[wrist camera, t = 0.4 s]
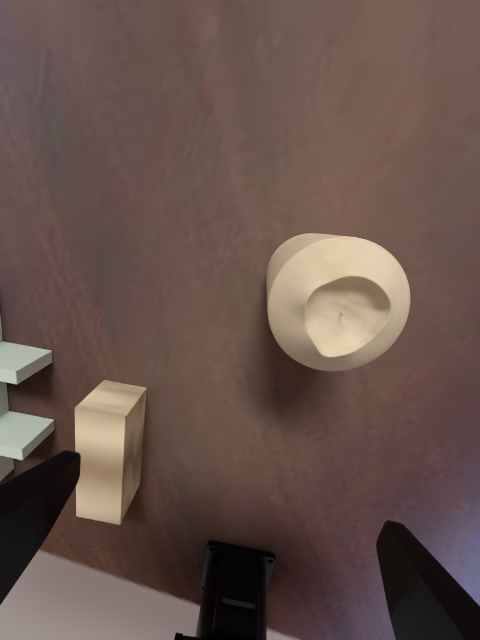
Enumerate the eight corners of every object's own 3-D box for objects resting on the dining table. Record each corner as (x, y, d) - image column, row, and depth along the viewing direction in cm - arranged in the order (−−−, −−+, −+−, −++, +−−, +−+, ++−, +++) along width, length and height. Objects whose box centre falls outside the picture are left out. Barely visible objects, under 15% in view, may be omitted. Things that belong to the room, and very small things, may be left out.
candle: (316, 329, 21) (361, 414, 11) (250, 288, 20) (238, 341, 11) (366, 261, 19) (468, 295, 10) (296, 216, 19) (329, 203, 9)
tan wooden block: (140, 482, 27) (120, 524, 23) (103, 475, 27) (76, 516, 23) (147, 386, 24) (125, 417, 20) (105, 378, 24) (74, 407, 20)
